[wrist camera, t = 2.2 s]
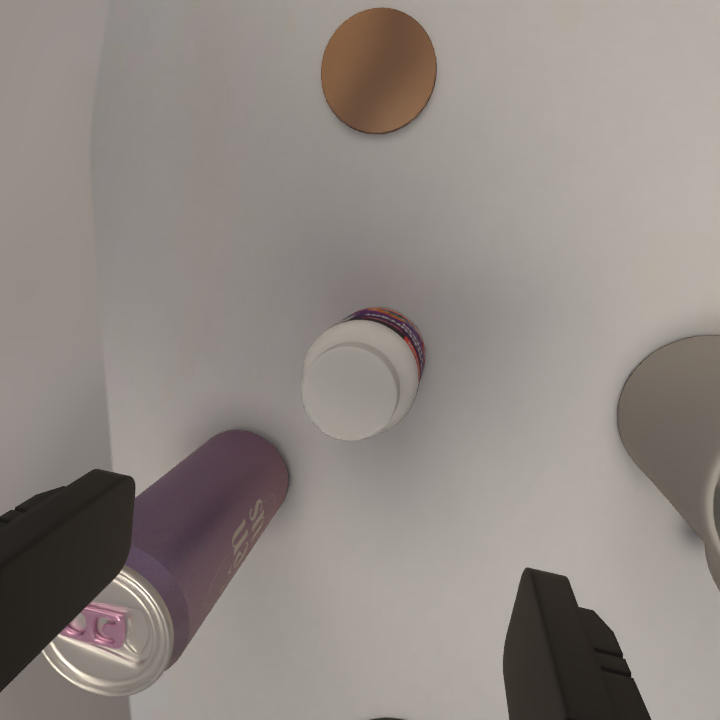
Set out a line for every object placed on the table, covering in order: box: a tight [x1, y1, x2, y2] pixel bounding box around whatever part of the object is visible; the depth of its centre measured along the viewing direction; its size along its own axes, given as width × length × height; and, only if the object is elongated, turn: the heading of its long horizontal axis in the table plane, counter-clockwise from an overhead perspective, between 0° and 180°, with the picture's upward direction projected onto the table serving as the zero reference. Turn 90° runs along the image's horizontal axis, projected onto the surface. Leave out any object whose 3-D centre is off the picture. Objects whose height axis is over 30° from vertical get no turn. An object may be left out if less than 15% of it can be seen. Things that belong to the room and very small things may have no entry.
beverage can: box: [41, 430, 288, 697], centre depth 28 cm, size 6×6×15 cm
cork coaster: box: [321, 8, 436, 134], centre depth 29 cm, size 6×6×1 cm
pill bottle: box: [302, 307, 425, 441], centre depth 27 cm, size 5×5×10 cm
